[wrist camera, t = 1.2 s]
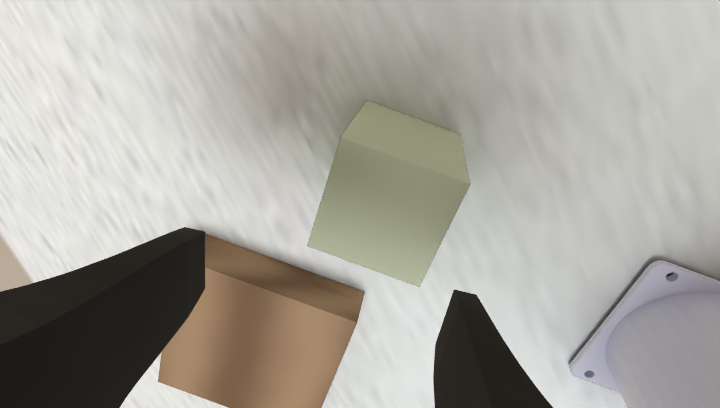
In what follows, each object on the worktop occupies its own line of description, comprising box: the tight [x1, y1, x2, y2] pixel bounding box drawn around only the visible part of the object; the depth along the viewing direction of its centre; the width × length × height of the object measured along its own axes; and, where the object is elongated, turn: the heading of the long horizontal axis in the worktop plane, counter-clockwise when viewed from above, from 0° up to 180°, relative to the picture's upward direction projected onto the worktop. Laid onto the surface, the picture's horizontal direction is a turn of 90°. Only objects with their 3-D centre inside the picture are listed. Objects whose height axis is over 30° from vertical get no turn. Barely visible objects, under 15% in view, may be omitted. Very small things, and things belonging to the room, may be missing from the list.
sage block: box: [307, 100, 470, 287], centre depth 17 cm, size 4×4×6 cm
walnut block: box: [158, 234, 364, 408], centre depth 25 cm, size 10×10×3 cm
